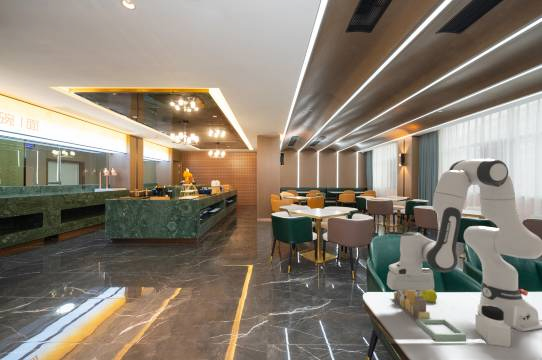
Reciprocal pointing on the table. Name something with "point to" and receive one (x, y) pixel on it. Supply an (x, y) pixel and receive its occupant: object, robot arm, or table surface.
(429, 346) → the table surface
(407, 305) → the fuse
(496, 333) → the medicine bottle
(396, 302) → the holder
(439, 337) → the tray
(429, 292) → the tennis ball
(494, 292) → the robot arm
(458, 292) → the table surface
